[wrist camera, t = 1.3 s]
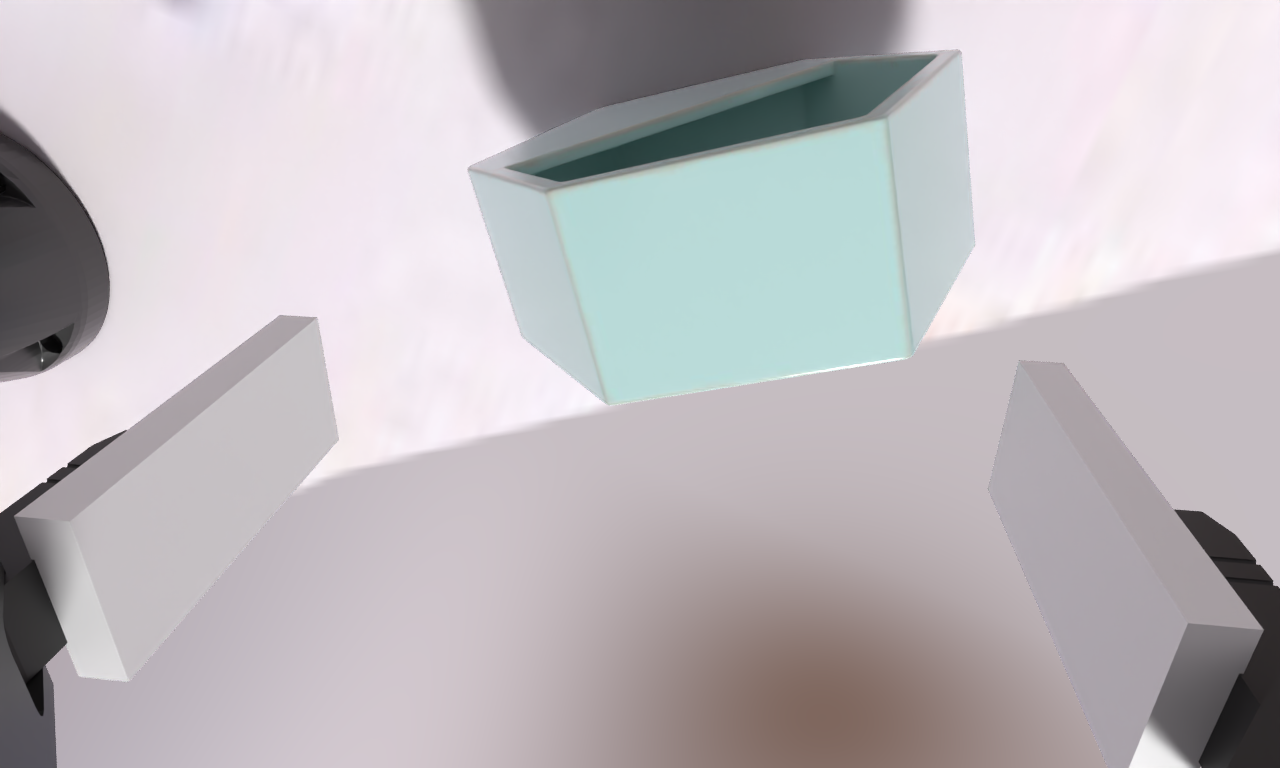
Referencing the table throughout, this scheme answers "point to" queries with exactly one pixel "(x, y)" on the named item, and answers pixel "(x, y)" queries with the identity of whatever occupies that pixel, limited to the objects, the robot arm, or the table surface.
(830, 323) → the planter
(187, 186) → the table surface
